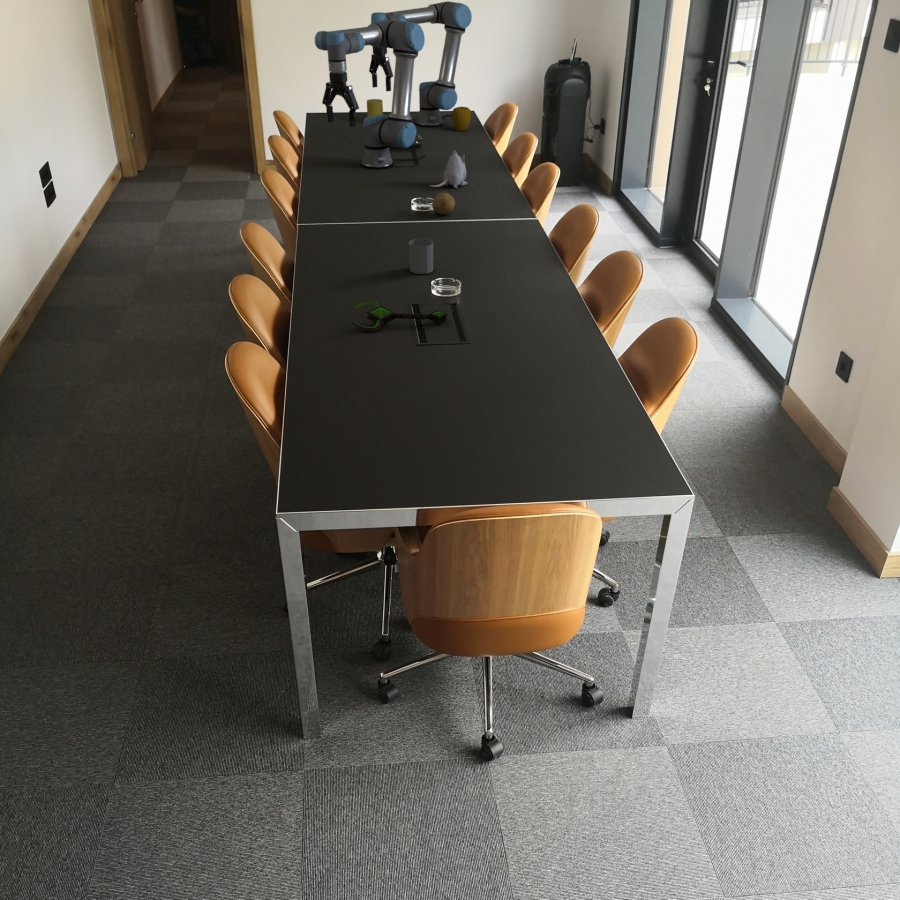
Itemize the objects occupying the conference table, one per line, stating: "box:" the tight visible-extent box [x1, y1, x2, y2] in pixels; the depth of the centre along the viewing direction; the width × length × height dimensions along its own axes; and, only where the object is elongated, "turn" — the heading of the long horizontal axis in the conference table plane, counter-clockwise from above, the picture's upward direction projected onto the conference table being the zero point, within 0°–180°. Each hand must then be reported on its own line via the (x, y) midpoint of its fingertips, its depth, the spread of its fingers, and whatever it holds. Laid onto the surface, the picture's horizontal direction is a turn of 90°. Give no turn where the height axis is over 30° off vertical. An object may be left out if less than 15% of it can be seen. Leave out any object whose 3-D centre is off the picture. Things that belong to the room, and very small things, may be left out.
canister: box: [366, 98, 384, 117], centre depth 505 cm, size 9×9×12 cm
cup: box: [408, 237, 434, 275], centre depth 305 cm, size 8×8×10 cm
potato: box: [431, 192, 456, 216], centre depth 360 cm, size 10×14×8 cm
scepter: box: [350, 299, 449, 332], centre depth 268 cm, size 6×13×30 cm
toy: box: [428, 149, 468, 189], centre depth 390 cm, size 9×24×15 cm, turn 137°
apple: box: [451, 105, 472, 132], centre depth 487 cm, size 11×11×13 cm
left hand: (341, 124), depth 378 cm, fingers open, 13 cm apart
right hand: (381, 89), depth 463 cm, fingers open, 13 cm apart
